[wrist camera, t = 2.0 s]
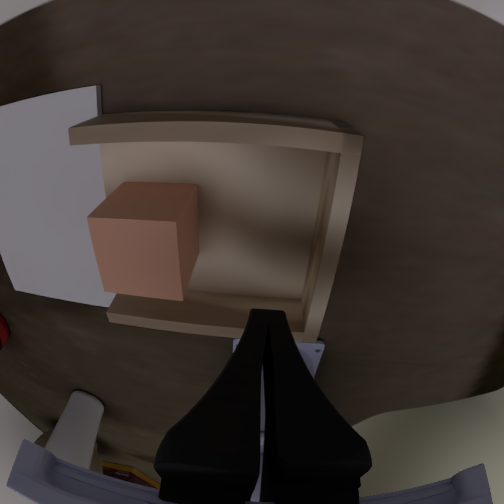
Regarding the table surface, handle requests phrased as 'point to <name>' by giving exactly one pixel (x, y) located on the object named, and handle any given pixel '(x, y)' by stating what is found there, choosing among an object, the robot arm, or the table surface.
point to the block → (147, 239)
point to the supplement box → (128, 474)
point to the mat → (51, 196)
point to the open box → (239, 210)
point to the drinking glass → (77, 430)
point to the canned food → (3, 332)
